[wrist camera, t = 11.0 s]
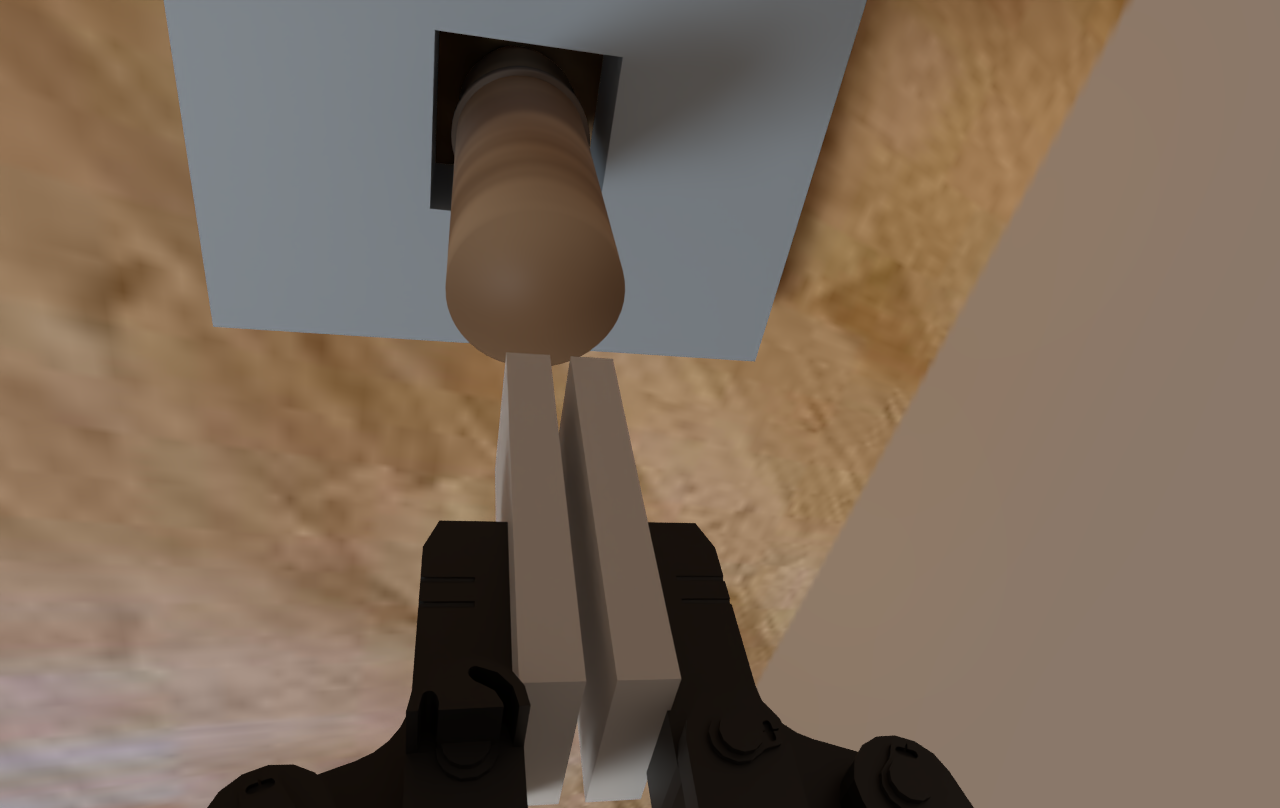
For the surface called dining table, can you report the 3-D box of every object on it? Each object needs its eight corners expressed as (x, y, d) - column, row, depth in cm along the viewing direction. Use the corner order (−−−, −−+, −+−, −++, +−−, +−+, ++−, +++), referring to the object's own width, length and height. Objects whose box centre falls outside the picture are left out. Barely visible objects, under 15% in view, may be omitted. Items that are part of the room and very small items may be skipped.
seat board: (175, -249, 23) (125, -250, 19) (848, -112, 27) (896, -95, 24) (239, 271, 32) (213, 326, 29) (731, 309, 36) (754, 361, 33)
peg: (457, 22, 28) (441, 193, 17) (584, 41, 29) (647, 215, 18) (452, 147, 30) (435, 367, 19) (569, 161, 31) (615, 377, 20)
